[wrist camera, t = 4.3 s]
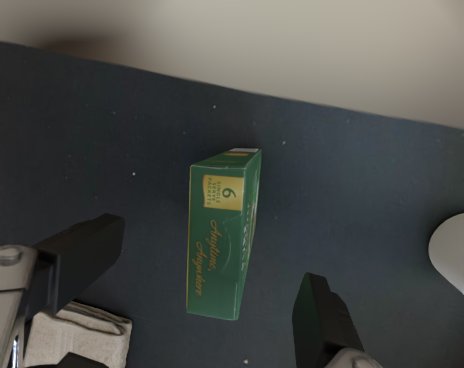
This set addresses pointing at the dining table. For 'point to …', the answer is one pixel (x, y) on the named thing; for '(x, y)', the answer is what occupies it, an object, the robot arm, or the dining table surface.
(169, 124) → the dining table surface
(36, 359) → the washcloth
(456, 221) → the can
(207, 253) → the coffee box
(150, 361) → the dining table surface
